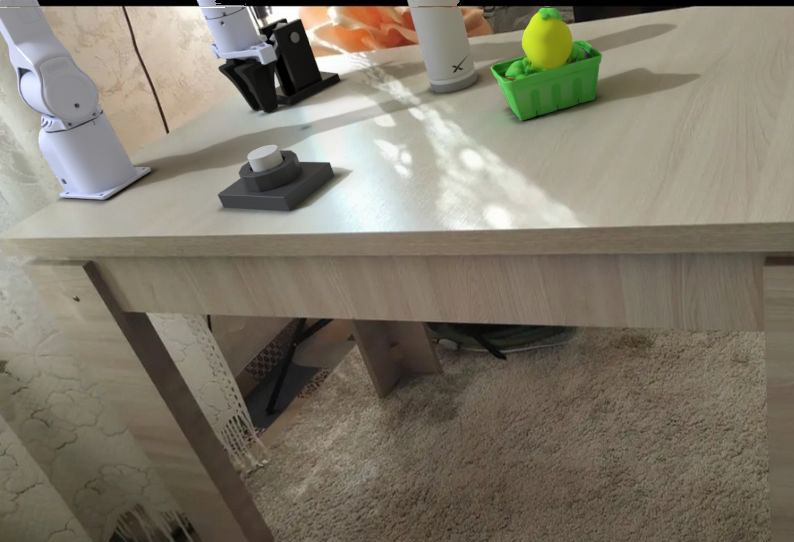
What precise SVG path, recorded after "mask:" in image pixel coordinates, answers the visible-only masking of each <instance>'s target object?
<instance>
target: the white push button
mask: <svg viewBox="0 0 794 542" xmlns="http://www.w3.org/2000/svg"><path fill="white" fill-rule="evenodd" d="M246 158H247V160H248V162H250V165H251V167H252V169H253V171H254V172H261V171H265V170H269V169H271V168H274V167H276V166H278V165H279V164H281V163H282V162H283V158H282V156H281V153H280V148H279V146H278V145H276V144H268V145H267V144H266V145H263V146H260V147H258V148H255V149H253V150H252V151H250V152H249V153H248V154H247V157H246Z"/></svg>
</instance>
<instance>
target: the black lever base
mask: <svg viewBox="0 0 794 542" xmlns="http://www.w3.org/2000/svg"><path fill="white" fill-rule="evenodd" d="M278 23H287V24H284V25H282V26H280V27H277V28H276V26H277V24H278ZM257 30H258V33H259V35H266V37H267V40H266V41H264V42H265V43H266V44H269V45H272V47H273V46H274V43H273V42H272V41H271V40H269V39H270V37H271V36H272V34H273V33H274V36H275V38H276V41H277V44H278V46H279V49H280V52H281V54H280V56H279V58H278V60H277V62H276V65H275V78H276V79H277V82H278V84H279V85H278V86H277V87H276V86H275V88H276V95H277V101H278V104H279V103H281V104H285V105H291V106H293V105H295V104H296V103H299V102H301V101H303V100H305V99H307V98H309V97H311V96H313V95H315V94H317V93H319V92H321V91H324V90H325V89H328V88H330V87H331V86H333V85H335V84H337V83H340V82H342V81H341V78H340V75H339V73H338V72H330V71H322V70H320V69H319V66H318V63H317V59H316V57H315V54H314V52H313V48H312V46H311V43H310V40H309V38H308V34H307V32H306V29H305V26H304V23H303V20H302V18H296V19H294V20H292V21H289V22H288V20H287V18H286V17H282V18H280V19H277V20H276V21H273V22H270V23H268V24H266V25H264V26H260V27H259V28H257Z"/></svg>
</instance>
